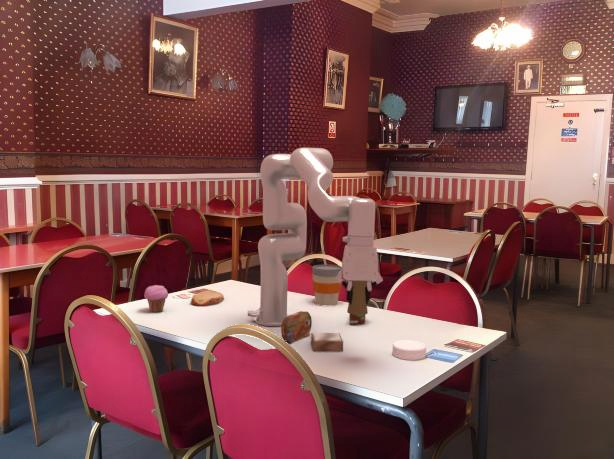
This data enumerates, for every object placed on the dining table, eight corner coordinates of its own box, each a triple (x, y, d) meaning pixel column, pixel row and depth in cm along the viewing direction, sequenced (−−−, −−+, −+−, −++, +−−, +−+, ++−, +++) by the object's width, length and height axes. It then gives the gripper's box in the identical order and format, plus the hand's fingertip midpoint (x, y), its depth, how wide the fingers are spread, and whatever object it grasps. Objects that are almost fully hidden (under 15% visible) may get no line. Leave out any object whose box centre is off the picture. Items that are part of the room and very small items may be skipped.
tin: (287, 345, 184) (287, 318, 183) (278, 343, 186) (279, 317, 185) (312, 334, 197) (312, 309, 196) (304, 332, 198) (304, 308, 198)
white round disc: (389, 350, 182) (389, 339, 181) (420, 350, 182) (421, 339, 182) (396, 361, 172) (396, 349, 171) (429, 361, 172) (430, 349, 172)
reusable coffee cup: (306, 301, 245) (306, 265, 243) (332, 298, 250) (333, 263, 248) (319, 307, 233) (320, 270, 232) (347, 305, 239) (348, 268, 237)
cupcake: (168, 313, 220) (168, 287, 219) (144, 314, 218) (143, 287, 217) (168, 307, 228) (167, 282, 227) (144, 308, 226) (144, 283, 225)
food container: (366, 327, 206) (367, 299, 205) (348, 326, 207) (349, 298, 206) (369, 318, 218) (370, 292, 217) (353, 317, 219) (353, 291, 218)
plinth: (313, 351, 178) (313, 340, 178) (311, 342, 187) (311, 332, 187) (343, 351, 179) (343, 340, 179) (339, 342, 188) (339, 332, 187)
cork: (345, 309, 175) (347, 273, 174) (365, 309, 176) (367, 273, 175) (348, 314, 169) (350, 277, 168) (369, 315, 170) (371, 277, 169)
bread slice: (214, 294, 255) (214, 286, 255) (237, 302, 241) (237, 293, 241) (176, 300, 244) (176, 291, 243) (198, 308, 230) (198, 299, 229)
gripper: (333, 242, 166) (330, 306, 168) (392, 243, 167) (388, 307, 169) (330, 238, 173) (328, 299, 175) (386, 240, 174) (383, 300, 177)
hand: (358, 302), depth 172 cm, fingers closed on cork, 4 cm apart
